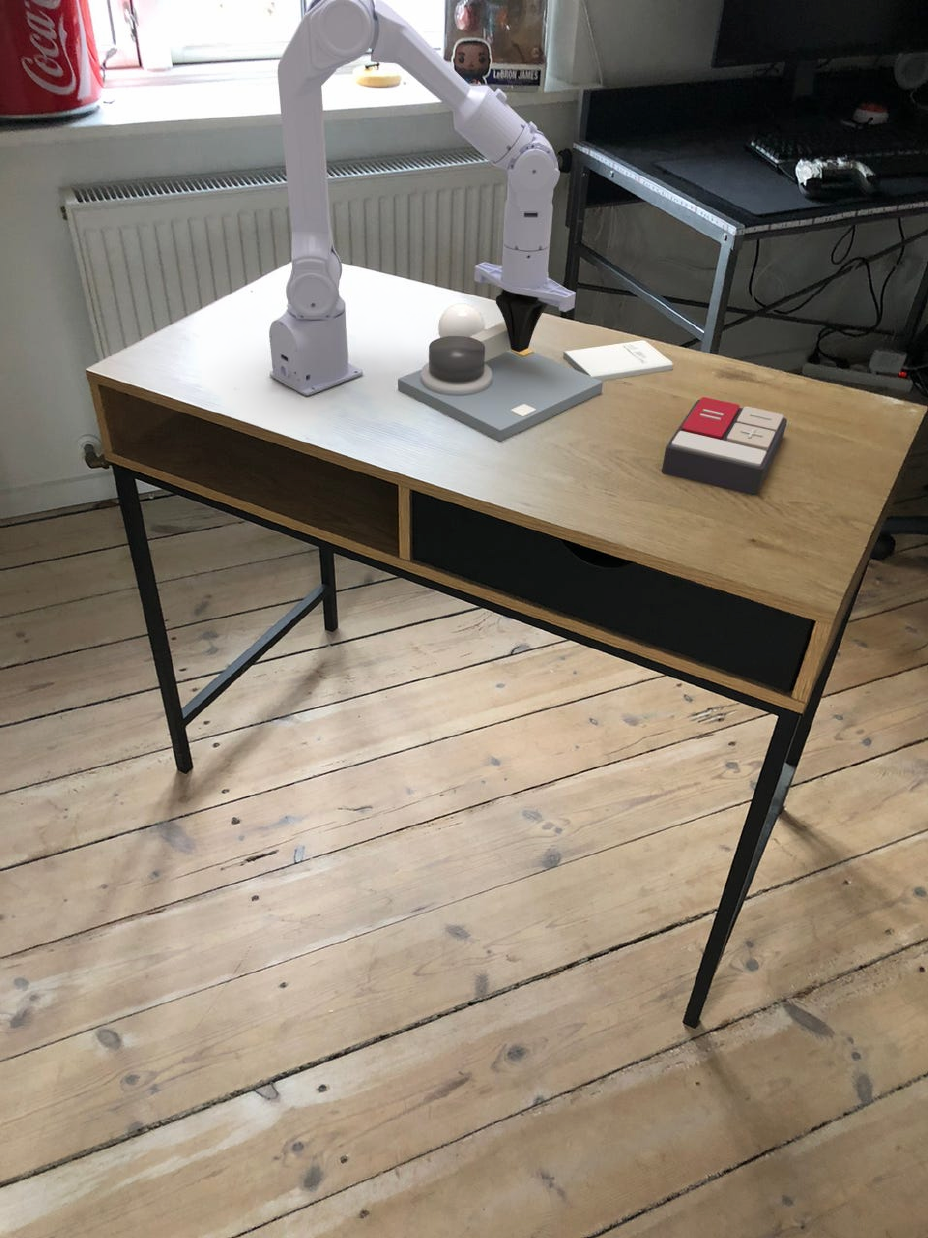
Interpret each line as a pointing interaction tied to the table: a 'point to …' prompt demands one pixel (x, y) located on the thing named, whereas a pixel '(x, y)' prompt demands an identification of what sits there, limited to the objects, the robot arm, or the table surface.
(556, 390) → the base
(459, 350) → the cap
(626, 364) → the external hard drive
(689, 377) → the table surface
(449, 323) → the lightbulb
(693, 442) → the calculator
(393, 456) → the table surface
